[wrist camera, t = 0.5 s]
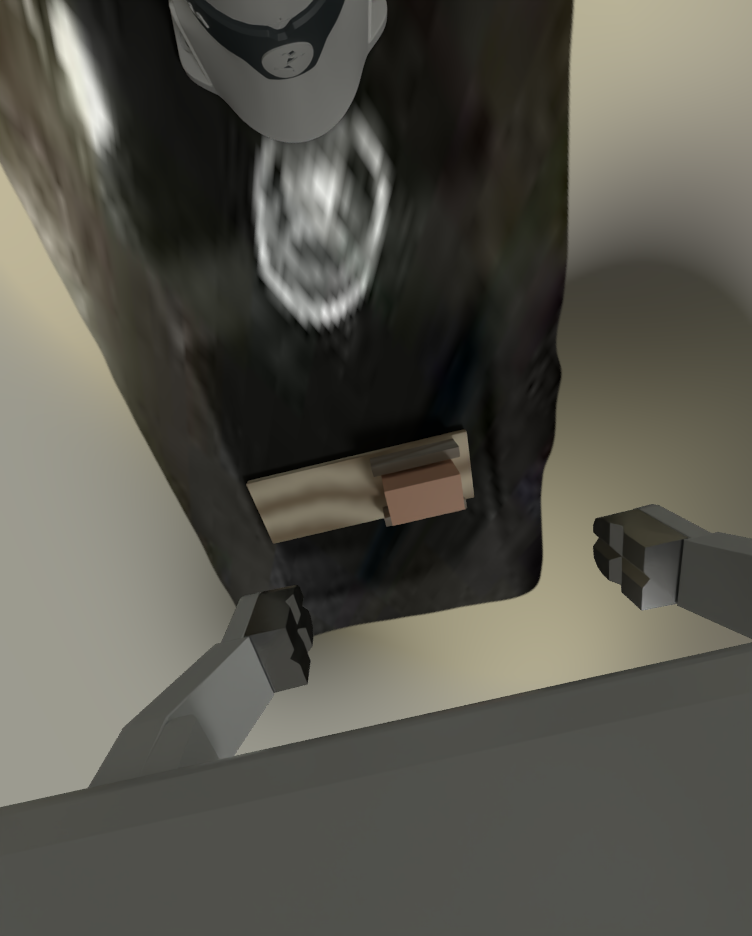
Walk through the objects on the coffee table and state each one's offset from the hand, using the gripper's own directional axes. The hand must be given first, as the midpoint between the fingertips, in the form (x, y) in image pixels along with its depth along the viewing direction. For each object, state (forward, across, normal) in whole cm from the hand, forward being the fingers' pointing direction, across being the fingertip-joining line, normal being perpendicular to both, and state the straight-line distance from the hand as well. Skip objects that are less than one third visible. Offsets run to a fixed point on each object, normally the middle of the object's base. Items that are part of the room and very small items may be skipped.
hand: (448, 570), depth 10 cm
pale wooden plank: (+41, +4, +14) cm, 44 cm away
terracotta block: (+40, -4, +14) cm, 43 cm away
